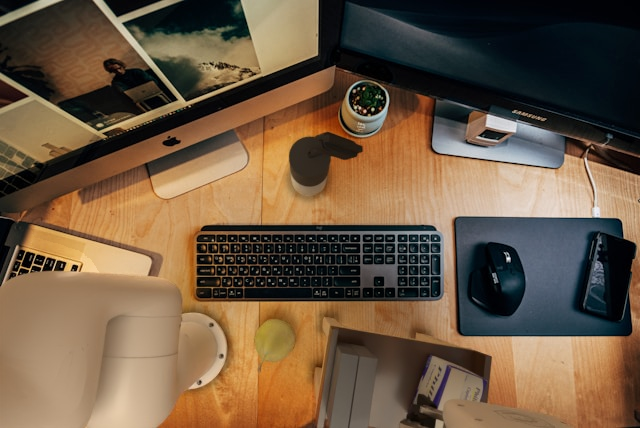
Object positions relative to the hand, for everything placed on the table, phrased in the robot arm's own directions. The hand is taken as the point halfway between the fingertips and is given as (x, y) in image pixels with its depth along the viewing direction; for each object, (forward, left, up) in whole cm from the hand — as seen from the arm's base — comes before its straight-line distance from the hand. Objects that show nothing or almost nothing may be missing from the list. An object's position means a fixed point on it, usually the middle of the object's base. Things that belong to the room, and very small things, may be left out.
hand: (468, 418), depth 42 cm
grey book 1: (-12, 0, -12) cm, 17 cm away
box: (0, 0, -12) cm, 12 cm away
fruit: (-21, 0, -35) cm, 41 cm away
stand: (-4, 0, -35) cm, 35 cm away
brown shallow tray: (-4, 0, -13) cm, 14 cm away
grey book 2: (-10, 0, -12) cm, 16 cm away
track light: (-18, +30, -35) cm, 50 cm away
